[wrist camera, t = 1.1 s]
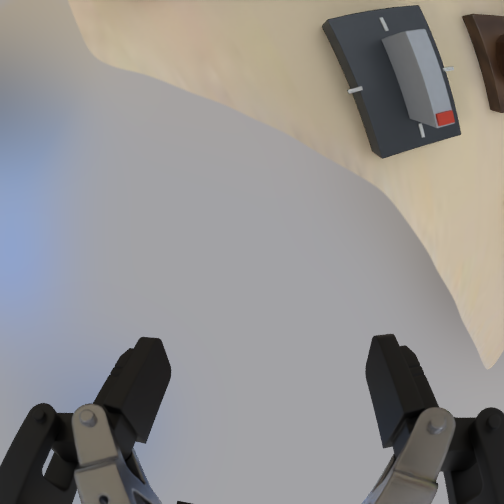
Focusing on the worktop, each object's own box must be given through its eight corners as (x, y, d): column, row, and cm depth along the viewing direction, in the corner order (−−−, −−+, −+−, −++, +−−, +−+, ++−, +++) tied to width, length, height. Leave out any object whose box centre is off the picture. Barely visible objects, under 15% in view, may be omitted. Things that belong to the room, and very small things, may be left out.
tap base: (311, 29, 20) (315, 22, 17) (414, 9, 16) (427, 4, 14) (362, 154, 26) (372, 162, 24) (453, 127, 23) (469, 133, 20)
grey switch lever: (380, 39, 17) (406, 30, 13) (398, 36, 17) (426, 28, 12) (409, 118, 21) (438, 129, 16) (426, 114, 20) (456, 124, 16)
